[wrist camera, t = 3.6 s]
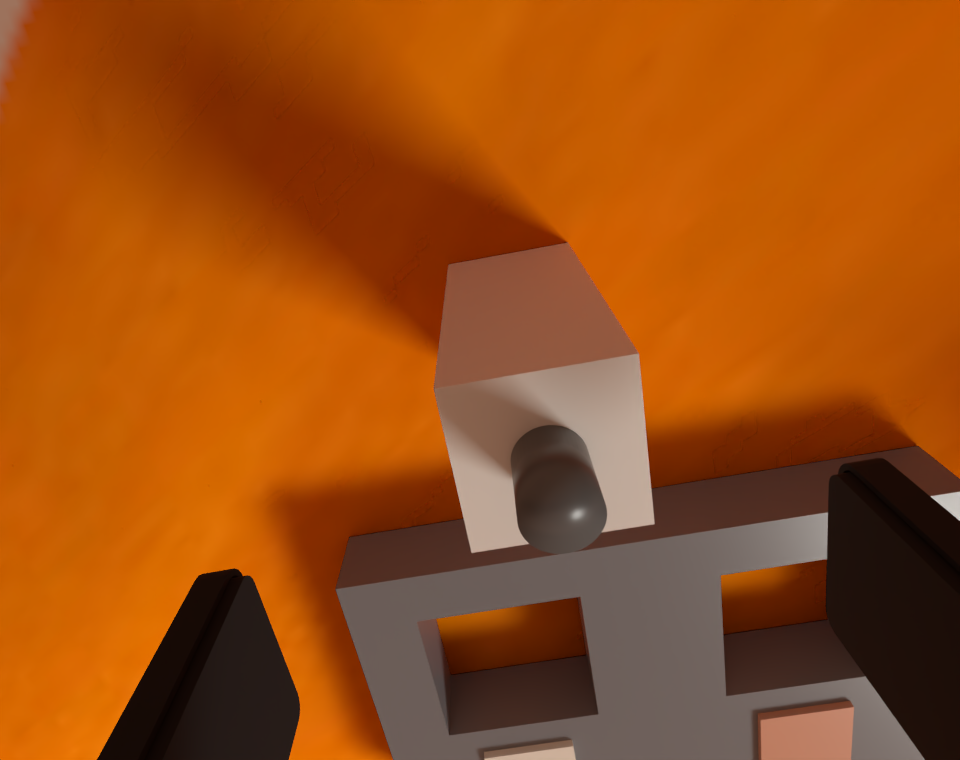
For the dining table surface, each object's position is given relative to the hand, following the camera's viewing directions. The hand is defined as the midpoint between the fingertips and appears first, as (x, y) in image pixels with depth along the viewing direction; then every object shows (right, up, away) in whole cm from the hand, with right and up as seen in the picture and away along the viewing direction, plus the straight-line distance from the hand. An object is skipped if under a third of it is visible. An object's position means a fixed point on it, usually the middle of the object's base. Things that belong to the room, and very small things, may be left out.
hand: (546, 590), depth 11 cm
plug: (0, +6, +12) cm, 13 cm away
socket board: (+6, -7, +18) cm, 20 cm away
